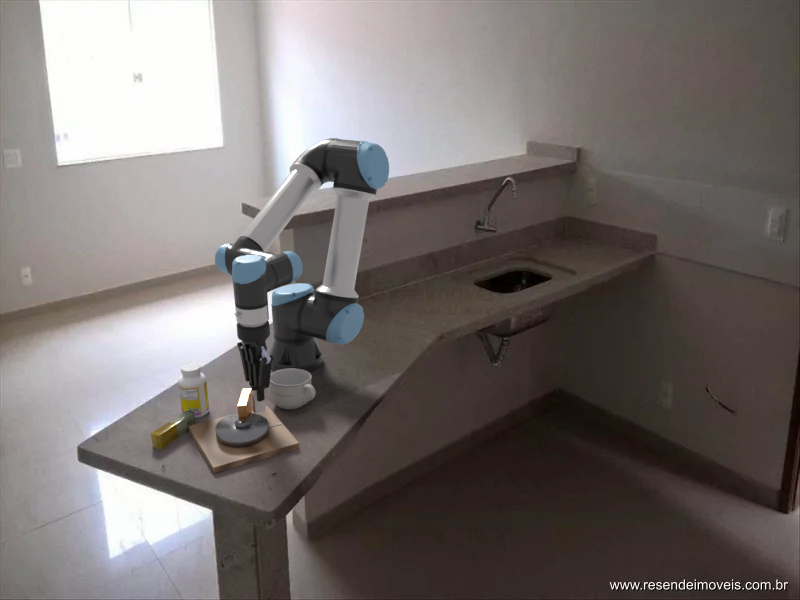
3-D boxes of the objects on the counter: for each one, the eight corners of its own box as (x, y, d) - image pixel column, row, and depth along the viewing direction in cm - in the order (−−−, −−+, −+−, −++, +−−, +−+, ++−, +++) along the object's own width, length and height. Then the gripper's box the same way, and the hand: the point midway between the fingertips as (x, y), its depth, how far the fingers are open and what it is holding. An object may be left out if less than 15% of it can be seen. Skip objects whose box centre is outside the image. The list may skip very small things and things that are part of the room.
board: (267, 410, 185) (267, 405, 185) (299, 448, 169) (298, 442, 169) (188, 431, 176) (187, 425, 175) (214, 473, 160) (213, 467, 159)
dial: (224, 411, 181) (222, 388, 179) (273, 410, 182) (271, 388, 180) (211, 447, 166) (209, 423, 164) (265, 446, 166) (263, 422, 164)
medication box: (188, 424, 179) (186, 409, 178) (196, 426, 178) (195, 412, 177) (152, 448, 169) (149, 432, 168) (160, 450, 168) (158, 435, 167)
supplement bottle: (198, 403, 188) (194, 358, 184) (214, 411, 184) (210, 365, 180) (176, 413, 183) (171, 367, 179) (192, 422, 180) (187, 375, 175)
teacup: (262, 401, 189) (260, 374, 187) (298, 389, 196) (296, 362, 193) (291, 423, 180) (289, 394, 177) (327, 409, 186) (327, 381, 183)
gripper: (225, 317, 173) (232, 406, 181) (252, 333, 164) (259, 426, 172) (252, 310, 178) (259, 396, 186) (281, 325, 169) (286, 415, 177)
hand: (259, 410), depth 179 cm, fingers closed
